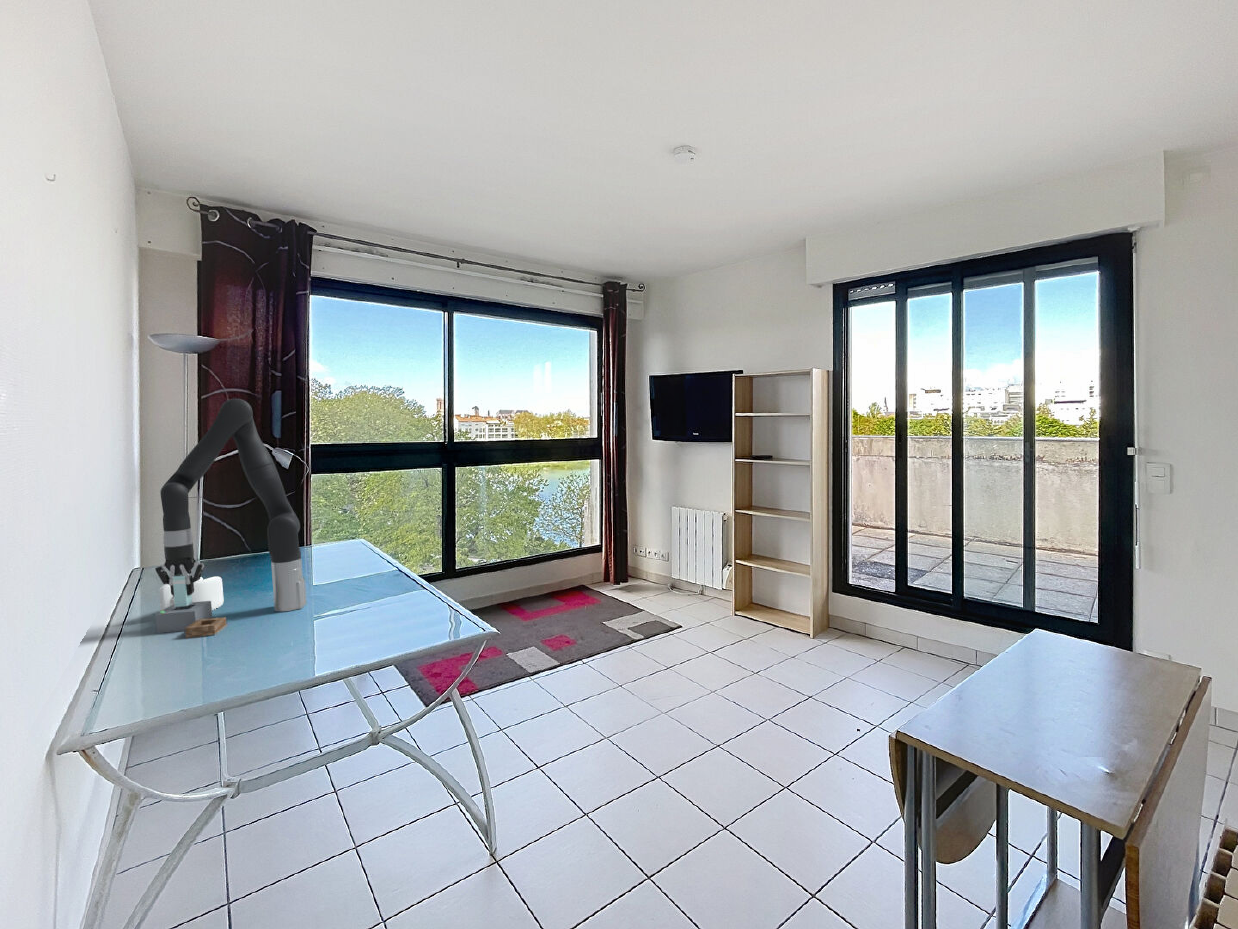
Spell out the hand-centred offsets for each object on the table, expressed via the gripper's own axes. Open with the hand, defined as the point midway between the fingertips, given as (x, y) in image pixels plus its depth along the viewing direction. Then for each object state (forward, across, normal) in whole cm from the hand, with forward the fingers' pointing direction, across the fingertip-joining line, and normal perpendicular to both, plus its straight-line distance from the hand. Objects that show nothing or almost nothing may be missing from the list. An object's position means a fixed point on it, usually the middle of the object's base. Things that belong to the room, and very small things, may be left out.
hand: (182, 595), depth 188 cm
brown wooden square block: (+10, -10, +9) cm, 17 cm away
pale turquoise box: (+3, 0, 0) cm, 3 cm away
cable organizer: (+10, +4, -14) cm, 18 cm away
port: (+10, 0, 0) cm, 10 cm away
